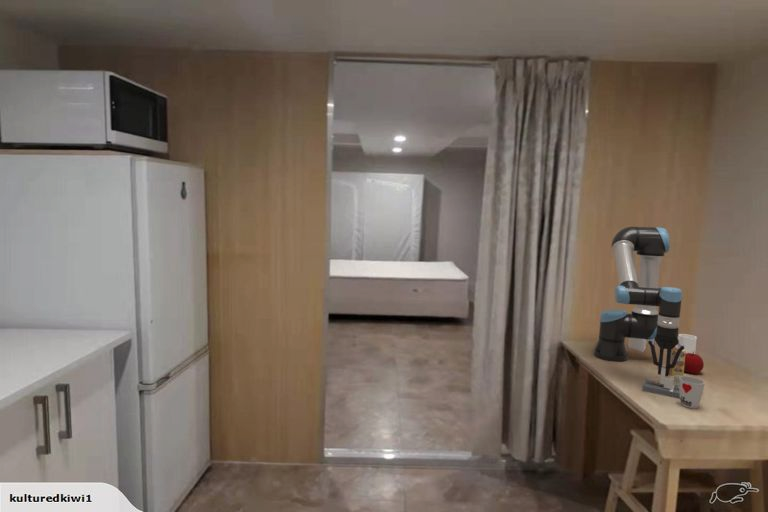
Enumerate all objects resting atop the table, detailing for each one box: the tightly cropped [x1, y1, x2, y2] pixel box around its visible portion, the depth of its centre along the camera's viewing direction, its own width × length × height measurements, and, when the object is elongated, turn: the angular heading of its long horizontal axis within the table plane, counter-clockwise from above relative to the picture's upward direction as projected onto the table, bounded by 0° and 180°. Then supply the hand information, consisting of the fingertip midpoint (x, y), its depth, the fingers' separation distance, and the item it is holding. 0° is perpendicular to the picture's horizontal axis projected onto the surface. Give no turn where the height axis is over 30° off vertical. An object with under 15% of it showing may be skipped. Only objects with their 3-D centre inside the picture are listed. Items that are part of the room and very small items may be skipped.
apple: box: [684, 352, 704, 375], centre depth 222 cm, size 9×9×10 cm
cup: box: [679, 375, 706, 409], centre depth 184 cm, size 8×8×10 cm
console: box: [641, 379, 680, 399], centre depth 197 cm, size 18×9×4 cm, turn 56°
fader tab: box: [664, 375, 674, 389], centre depth 197 cm, size 3×5×4 cm, turn 146°
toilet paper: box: [627, 338, 648, 353], centre depth 258 cm, size 8×11×7 cm
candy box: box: [669, 345, 686, 386], centre depth 208 cm, size 9×4×15 cm, turn 162°
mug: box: [678, 333, 698, 354], centre depth 249 cm, size 12×9×10 cm
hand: (662, 382), depth 198 cm, fingers closed
